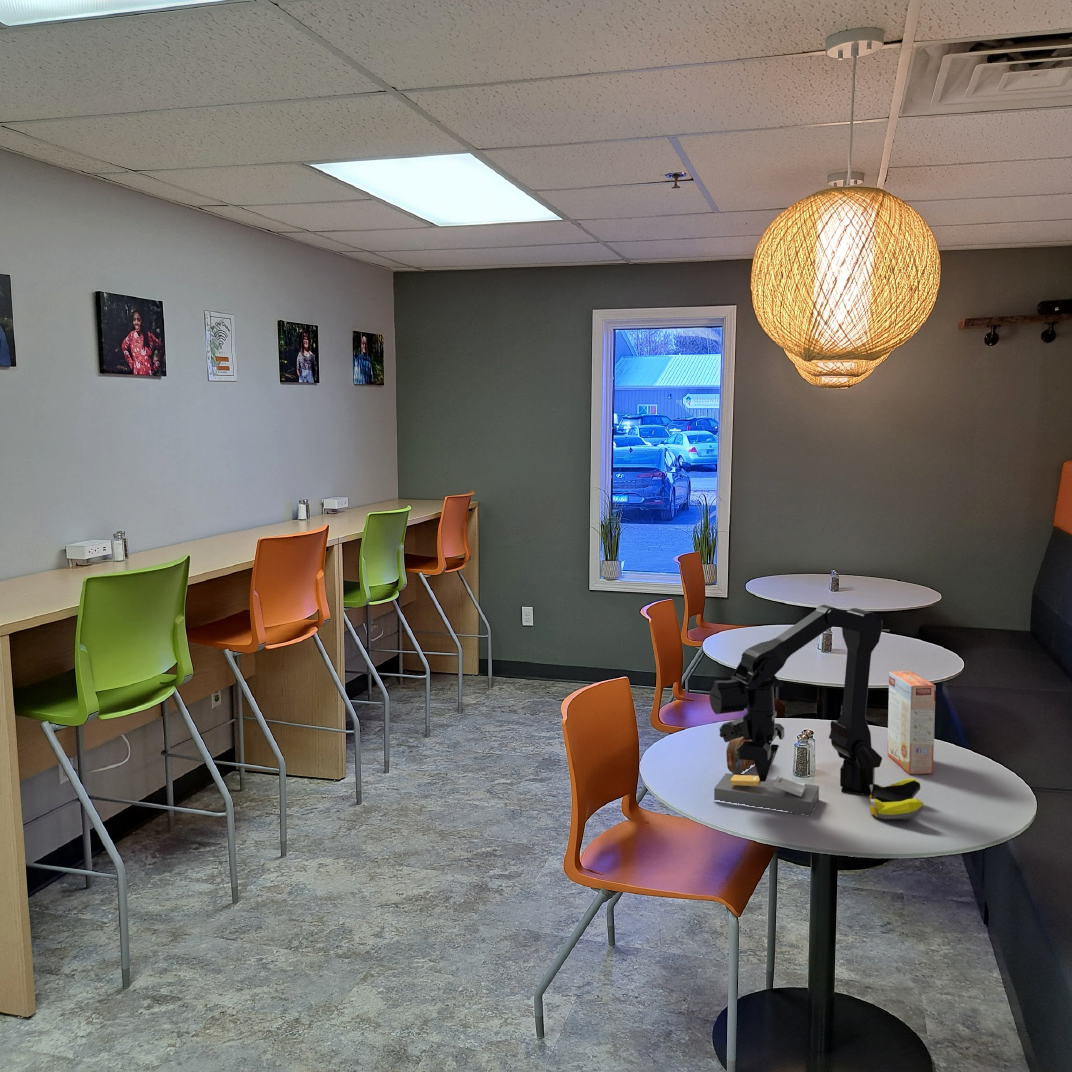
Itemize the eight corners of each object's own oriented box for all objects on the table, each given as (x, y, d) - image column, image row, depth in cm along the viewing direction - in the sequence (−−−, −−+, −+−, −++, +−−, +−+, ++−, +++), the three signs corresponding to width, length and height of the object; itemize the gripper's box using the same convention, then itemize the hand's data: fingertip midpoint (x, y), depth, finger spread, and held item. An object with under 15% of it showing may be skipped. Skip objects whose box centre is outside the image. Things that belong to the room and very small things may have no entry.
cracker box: (935, 775, 212) (937, 684, 210) (908, 775, 212) (909, 685, 210) (911, 754, 226) (913, 670, 224) (886, 755, 226) (887, 670, 224)
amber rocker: (762, 780, 199) (761, 775, 199) (758, 786, 196) (758, 781, 196) (734, 779, 202) (734, 774, 202) (730, 784, 199) (729, 780, 198)
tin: (736, 779, 212) (736, 743, 211) (723, 776, 214) (723, 741, 213) (763, 760, 224) (763, 726, 223) (751, 758, 226) (751, 724, 225)
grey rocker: (804, 790, 195) (805, 786, 195) (801, 796, 192) (802, 792, 192) (776, 780, 198) (777, 775, 198) (772, 786, 195) (774, 781, 194)
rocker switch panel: (818, 799, 199) (818, 783, 199) (810, 816, 190) (810, 799, 190) (726, 786, 208) (726, 771, 207) (714, 802, 199) (714, 786, 198)
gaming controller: (919, 802, 197) (869, 797, 200) (920, 776, 196) (869, 772, 200) (923, 830, 183) (869, 824, 186) (924, 802, 182) (870, 797, 185)
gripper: (732, 695, 208) (735, 763, 209) (711, 717, 191) (714, 791, 192) (783, 698, 203) (786, 768, 204) (765, 721, 186) (768, 797, 188)
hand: (763, 780), depth 197 cm, fingers closed, pressing on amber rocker
